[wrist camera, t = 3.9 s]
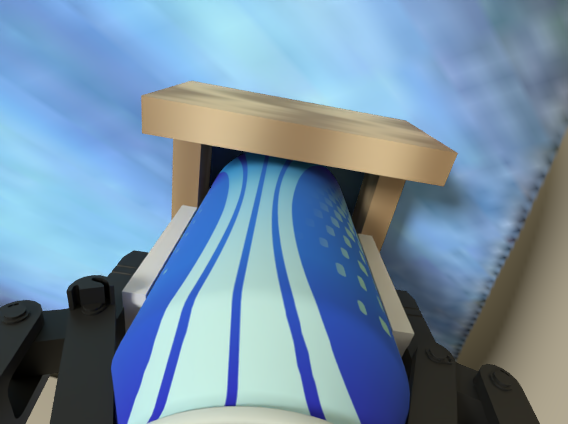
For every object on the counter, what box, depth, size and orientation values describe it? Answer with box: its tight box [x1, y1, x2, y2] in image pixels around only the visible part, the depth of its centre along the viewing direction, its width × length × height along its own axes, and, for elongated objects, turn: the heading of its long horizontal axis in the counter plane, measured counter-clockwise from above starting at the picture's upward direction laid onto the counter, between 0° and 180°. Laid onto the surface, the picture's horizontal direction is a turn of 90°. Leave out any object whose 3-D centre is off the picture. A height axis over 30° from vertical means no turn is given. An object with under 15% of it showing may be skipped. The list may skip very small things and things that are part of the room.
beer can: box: [111, 152, 410, 424], centre depth 14 cm, size 8×8×16 cm
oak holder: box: [141, 81, 458, 253], centre depth 19 cm, size 13×13×7 cm
